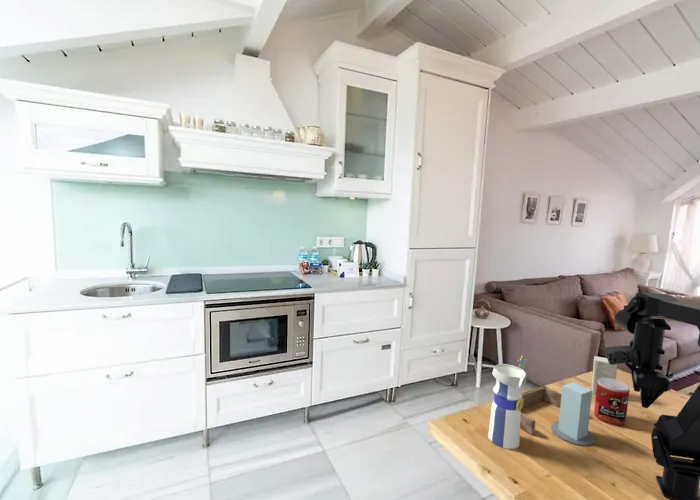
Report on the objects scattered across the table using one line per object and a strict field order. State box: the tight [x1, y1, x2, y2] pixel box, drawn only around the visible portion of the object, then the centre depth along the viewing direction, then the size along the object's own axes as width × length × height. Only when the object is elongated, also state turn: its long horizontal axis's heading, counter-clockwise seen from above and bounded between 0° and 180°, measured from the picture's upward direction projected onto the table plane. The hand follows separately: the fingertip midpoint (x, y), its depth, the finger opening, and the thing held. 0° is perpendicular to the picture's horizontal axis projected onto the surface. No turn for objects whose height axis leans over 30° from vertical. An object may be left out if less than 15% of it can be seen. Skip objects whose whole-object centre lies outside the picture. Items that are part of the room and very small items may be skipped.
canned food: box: [593, 378, 630, 427], centre depth 102 cm, size 8×8×11 cm
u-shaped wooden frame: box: [520, 385, 562, 436], centre depth 104 cm, size 11×22×4 cm, turn 118°
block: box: [558, 381, 593, 440], centre depth 94 cm, size 5×5×13 cm
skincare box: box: [590, 355, 618, 395], centre depth 117 cm, size 6×4×12 cm
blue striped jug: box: [487, 355, 528, 450], centre depth 90 cm, size 8×9×25 cm
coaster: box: [550, 421, 595, 447], centre depth 95 cm, size 10×10×1 cm
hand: (640, 399), depth 89 cm, fingers open, 9 cm apart
